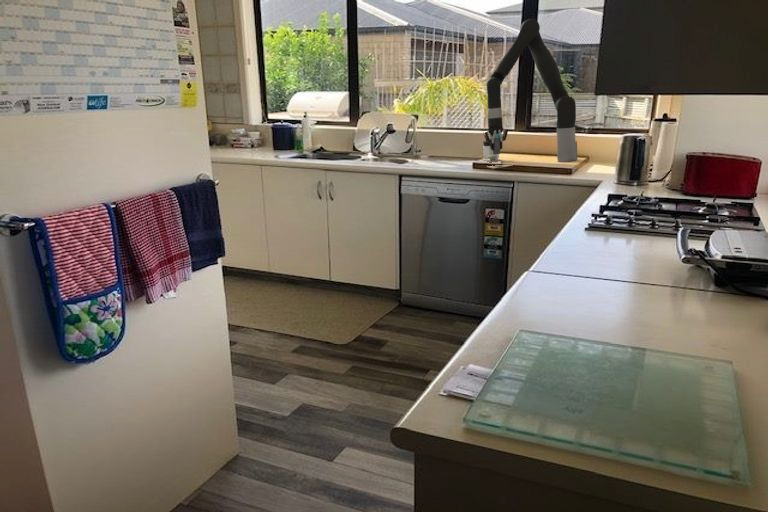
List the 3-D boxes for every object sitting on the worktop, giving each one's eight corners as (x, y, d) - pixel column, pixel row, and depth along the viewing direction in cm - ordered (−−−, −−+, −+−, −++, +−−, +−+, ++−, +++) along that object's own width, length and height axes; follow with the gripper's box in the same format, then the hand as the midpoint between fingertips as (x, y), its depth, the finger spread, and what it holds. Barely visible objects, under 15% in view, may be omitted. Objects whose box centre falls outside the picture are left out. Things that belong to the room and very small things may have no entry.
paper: (506, 163, 325) (506, 163, 325) (514, 165, 316) (514, 164, 316) (486, 166, 322) (486, 166, 322) (493, 168, 314) (493, 167, 314)
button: (494, 159, 331) (494, 154, 330) (498, 160, 326) (498, 155, 326) (486, 160, 330) (486, 155, 329) (490, 161, 325) (490, 156, 325)
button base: (495, 162, 333) (495, 158, 332) (501, 164, 326) (501, 159, 326) (484, 164, 331) (484, 160, 330) (489, 165, 325) (489, 161, 324)
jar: (486, 163, 336) (484, 142, 332) (482, 161, 343) (480, 141, 340) (501, 161, 337) (500, 140, 333) (496, 159, 344) (495, 139, 341)
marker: (498, 153, 318) (497, 132, 315) (501, 153, 315) (500, 133, 312) (491, 154, 317) (490, 133, 314) (494, 154, 314) (493, 134, 311)
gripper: (485, 118, 305) (487, 152, 310) (510, 115, 309) (511, 148, 314) (479, 118, 312) (481, 151, 317) (503, 115, 316) (505, 147, 321)
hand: (496, 149), depth 315 cm, fingers closed on marker, 3 cm apart
